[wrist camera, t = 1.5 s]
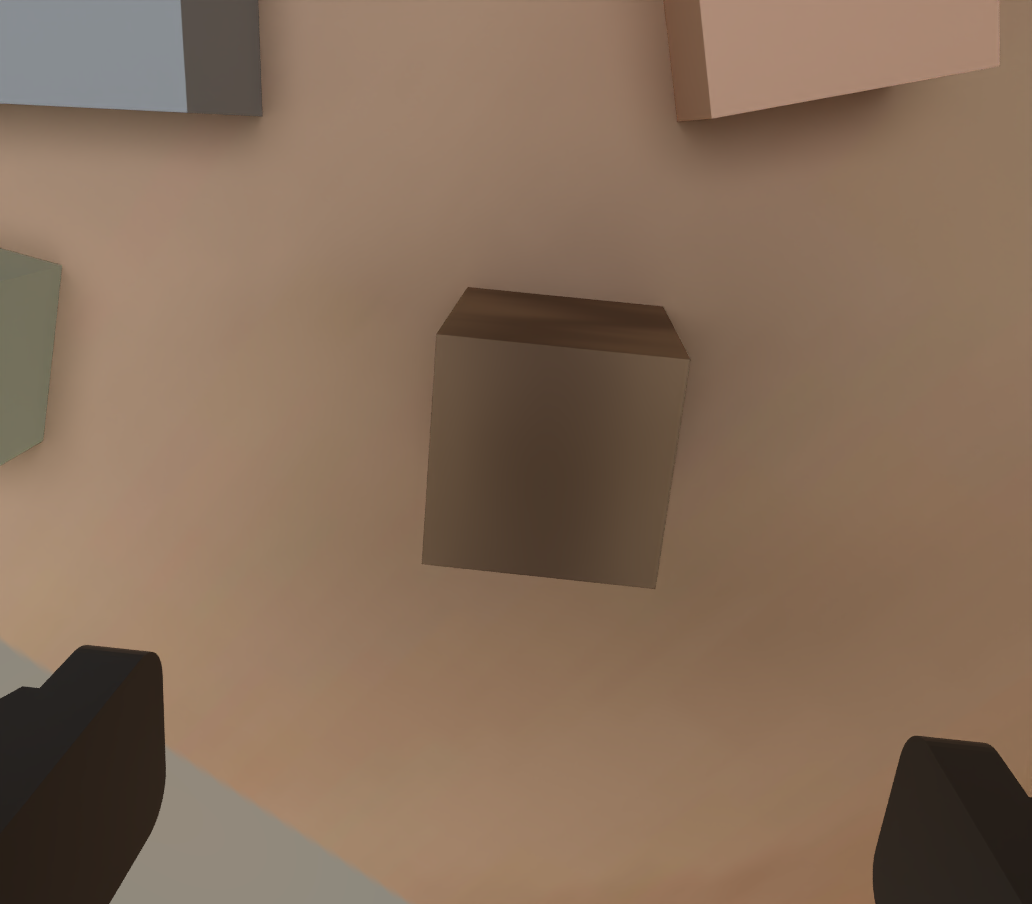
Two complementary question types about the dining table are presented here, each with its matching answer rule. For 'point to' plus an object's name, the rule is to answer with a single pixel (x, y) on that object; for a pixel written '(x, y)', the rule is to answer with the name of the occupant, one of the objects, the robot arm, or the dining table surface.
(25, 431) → the pale green block
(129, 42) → the grey base block
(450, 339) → the walnut block
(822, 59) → the tan block
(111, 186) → the dining table surface
